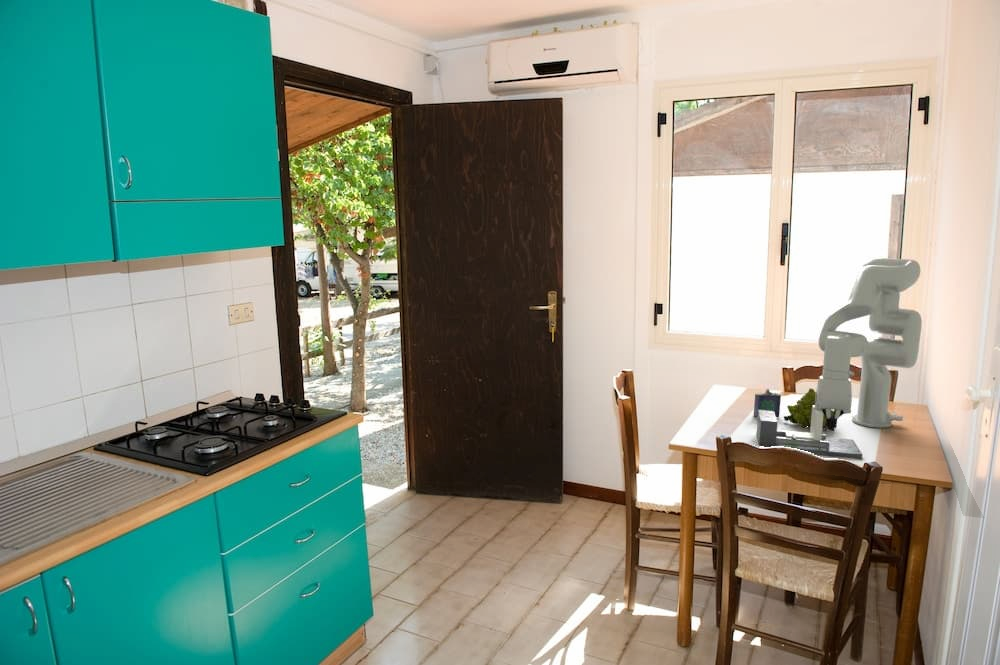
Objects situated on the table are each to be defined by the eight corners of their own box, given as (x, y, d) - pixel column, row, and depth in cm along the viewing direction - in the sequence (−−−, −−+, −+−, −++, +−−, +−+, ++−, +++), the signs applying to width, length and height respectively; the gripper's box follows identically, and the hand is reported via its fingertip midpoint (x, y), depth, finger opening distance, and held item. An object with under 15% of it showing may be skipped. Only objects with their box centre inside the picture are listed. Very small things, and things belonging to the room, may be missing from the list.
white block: (816, 438, 220) (819, 405, 218) (821, 449, 210) (824, 415, 208) (783, 435, 223) (786, 403, 220) (787, 446, 213) (789, 412, 210)
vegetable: (772, 412, 241) (798, 379, 238) (798, 429, 247) (823, 397, 245) (799, 432, 227) (827, 397, 225) (826, 449, 234) (853, 415, 231)
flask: (754, 417, 247) (756, 390, 245) (752, 415, 250) (754, 387, 248) (780, 418, 246) (782, 390, 244) (777, 416, 249) (779, 388, 247)
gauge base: (852, 443, 219) (855, 416, 217) (862, 459, 206) (864, 430, 204) (756, 435, 228) (758, 409, 226) (759, 449, 214) (761, 421, 213)
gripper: (859, 373, 211) (853, 427, 215) (808, 370, 216) (803, 423, 219) (864, 378, 204) (858, 435, 208) (811, 375, 209) (807, 430, 212)
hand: (830, 429), depth 213 cm, fingers closed
